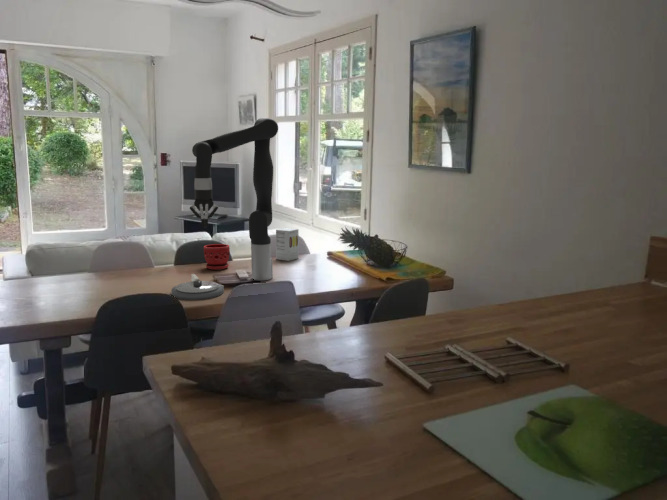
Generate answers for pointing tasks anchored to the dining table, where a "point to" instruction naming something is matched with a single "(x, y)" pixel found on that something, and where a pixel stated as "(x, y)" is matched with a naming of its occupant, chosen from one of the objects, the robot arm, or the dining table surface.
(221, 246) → the plant pot
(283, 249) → the supplement box
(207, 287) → the dial
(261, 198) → the robot arm
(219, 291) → the dial base
